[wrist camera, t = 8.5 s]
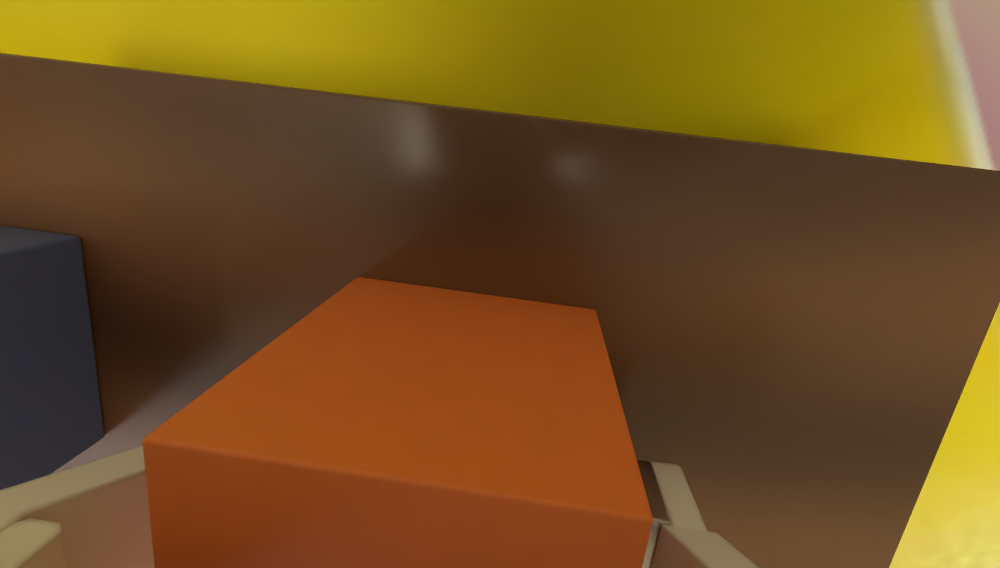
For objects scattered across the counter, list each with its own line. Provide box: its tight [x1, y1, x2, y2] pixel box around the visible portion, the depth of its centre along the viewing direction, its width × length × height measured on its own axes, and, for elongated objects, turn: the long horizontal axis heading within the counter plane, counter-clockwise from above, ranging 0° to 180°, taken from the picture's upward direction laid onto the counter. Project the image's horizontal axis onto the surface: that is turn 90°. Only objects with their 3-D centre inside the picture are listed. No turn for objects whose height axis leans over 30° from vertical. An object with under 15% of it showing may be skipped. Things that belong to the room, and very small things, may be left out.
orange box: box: [142, 277, 653, 568], centre depth 8 cm, size 5×5×6 cm
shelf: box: [0, 53, 1000, 568], centre depth 16 cm, size 12×26×10 cm, turn 84°
